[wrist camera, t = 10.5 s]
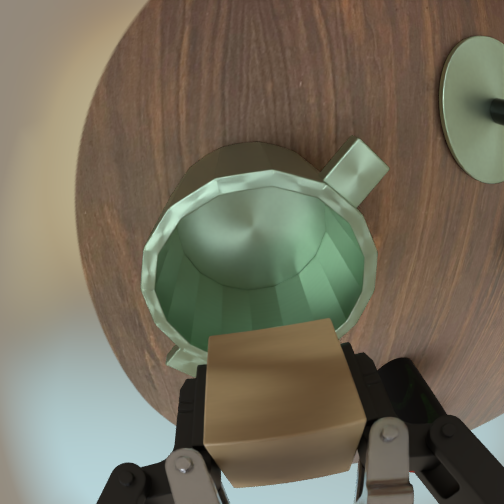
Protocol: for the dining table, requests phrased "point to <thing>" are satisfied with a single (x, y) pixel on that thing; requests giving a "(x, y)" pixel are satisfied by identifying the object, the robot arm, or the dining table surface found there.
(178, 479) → the robot arm
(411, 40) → the dining table surface
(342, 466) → the block
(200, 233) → the pot
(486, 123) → the pot lid
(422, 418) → the cup
